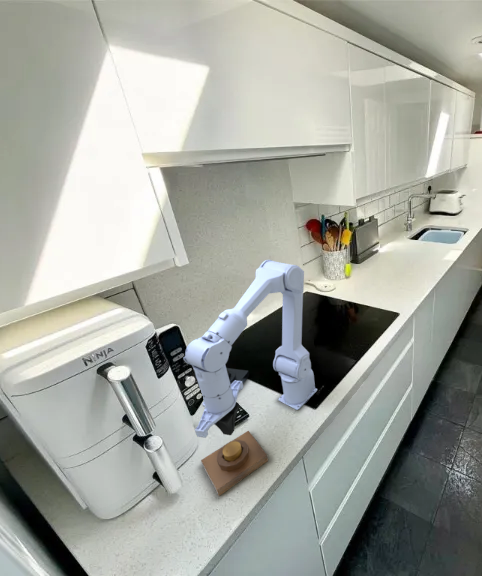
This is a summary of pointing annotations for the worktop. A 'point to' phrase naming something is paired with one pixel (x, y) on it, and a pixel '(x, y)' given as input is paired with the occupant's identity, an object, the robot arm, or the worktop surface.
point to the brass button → (232, 451)
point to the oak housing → (234, 463)
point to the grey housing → (238, 375)
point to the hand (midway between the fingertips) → (228, 432)
